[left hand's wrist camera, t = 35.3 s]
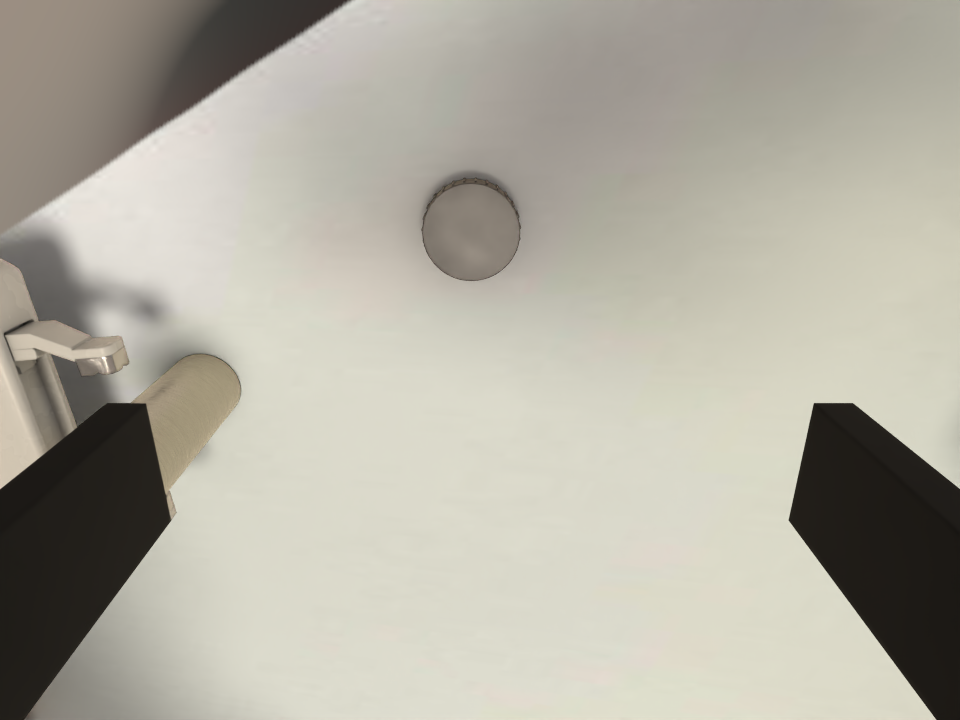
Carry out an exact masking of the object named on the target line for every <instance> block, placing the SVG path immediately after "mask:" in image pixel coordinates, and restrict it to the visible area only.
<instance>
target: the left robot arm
mask: <svg viewBox="0 0 960 720" xmlns="http://www.w3.org/2000/svg"><path fill="white" fill-rule="evenodd" d="M170 521H171V517H170V512H169V507H168V503H167V498H166V494H165V489H164V484H163V480H162V475H161V470H160V466H159V461H158V456H157V452H156V447H155V442H154V438H153V433H152V429H151V424H150V419H149V415H148V410H147V405H146V403H107V404H106V405H104V406H103V407H102V408H101V409H99V410H98V411H97V412H96V413H94V414H93V415H92V416H91V417H89V418H88V419H87V420H86V421H84V422H83V423H82V424H81V425H79V426H78V427H77V428H76V429H74V430H73V431H72V432H71V433H69V434H68V435H67V436H66V437H64V438H63V439H62V440H61V441H59V442H58V443H57V444H56V445H54V446H53V447H52V448H51V449H50V450H48V451H47V452H46V453H45V454H43V455H42V456H41V457H40V458H38V459H37V460H36V461H35V462H33V463H32V464H31V465H30V466H28V467H27V468H26V469H25V470H23V471H22V472H21V473H20V474H18V475H17V476H16V477H15V478H13V479H12V480H11V481H10V482H8V483H7V484H6V485H5V486H3V487H2V488H1V489H0V720H24V718H25V717H26V716H27V714H28V713H29V712H30V710H31V709H32V708H33V706H34V705H35V704H36V702H37V701H38V700H39V698H40V697H41V696H42V694H43V693H44V691H45V690H46V689H47V687H48V686H49V685H50V683H51V682H52V681H53V679H54V678H55V677H56V675H57V674H58V673H59V671H60V670H61V669H62V667H63V666H64V664H65V663H66V662H67V660H68V659H69V658H70V656H71V655H72V654H73V652H74V651H75V650H76V648H77V647H78V646H79V644H80V643H81V642H82V640H83V639H84V637H85V636H86V635H87V633H88V632H89V631H90V629H91V628H92V627H93V625H94V624H95V623H96V621H97V620H98V619H99V617H100V616H101V615H102V613H103V612H104V610H105V609H106V608H107V606H108V605H109V604H110V602H111V601H112V600H113V598H114V597H115V596H116V594H117V593H118V592H119V590H120V589H121V588H122V586H123V585H124V583H125V582H126V581H127V579H128V578H129V577H130V575H131V574H132V573H133V571H134V570H135V569H136V567H137V566H138V565H139V563H140V562H141V561H142V559H143V558H144V557H145V555H146V554H147V552H148V551H149V550H150V548H151V547H152V546H153V544H154V543H155V542H156V540H157V539H158V538H159V536H160V535H161V534H162V532H163V531H164V530H165V528H166V527H167V525H168V524H169V523H170ZM789 521H790V523H791V524H792V525H793V527H794V528H795V530H796V531H797V532H798V534H799V535H800V536H801V538H802V539H803V540H804V542H805V543H806V544H807V546H808V547H809V548H810V550H811V551H812V552H813V554H814V555H815V557H816V558H817V559H818V561H819V562H820V563H821V565H822V566H823V567H824V569H825V570H826V571H827V573H828V574H829V575H830V577H831V578H832V579H833V581H834V582H835V583H836V585H837V586H838V588H839V589H840V590H841V592H842V593H843V594H844V596H845V597H846V598H847V600H848V601H849V602H850V604H851V605H852V606H853V608H854V609H855V610H856V612H857V613H858V615H859V616H860V617H861V619H862V620H863V621H864V623H865V624H866V625H867V627H868V628H869V629H870V631H871V632H872V633H873V635H874V636H875V637H876V639H877V640H878V642H879V643H880V644H881V646H882V647H883V648H884V650H885V651H886V652H887V654H888V655H889V656H890V658H891V659H892V660H893V662H894V663H895V664H896V666H897V667H898V669H899V670H900V671H901V673H902V674H903V675H904V677H905V678H906V679H907V681H908V682H909V683H910V685H911V686H912V687H913V689H914V690H915V691H916V693H917V694H918V696H919V697H920V698H921V700H922V701H923V702H924V704H925V705H926V706H927V708H928V709H929V710H930V712H931V713H932V714H933V716H934V717H935V718H936V720H960V489H959V488H958V487H957V486H955V485H954V484H953V483H952V482H950V481H949V480H948V479H947V478H945V477H944V476H943V475H942V474H940V473H939V472H938V471H937V470H935V469H934V468H933V467H932V466H930V465H929V464H928V463H927V462H925V461H924V460H923V459H922V458H920V457H919V456H918V455H917V454H915V453H914V452H913V451H912V450H910V449H909V448H908V447H907V446H906V445H904V444H903V443H902V442H901V441H899V440H898V439H897V438H896V437H894V436H893V435H892V434H891V433H889V432H888V431H887V430H886V429H884V428H883V427H882V426H881V425H879V424H878V423H877V422H876V421H874V420H873V419H872V418H871V417H869V416H868V415H867V414H866V413H864V412H863V411H862V410H861V409H859V408H858V407H857V406H856V405H854V404H853V403H814V405H813V410H812V415H811V419H810V424H809V429H808V433H807V438H806V442H805V447H804V452H803V456H802V461H801V466H800V470H799V475H798V480H797V484H796V489H795V494H794V498H793V503H792V507H791V512H790V517H789Z"/></svg>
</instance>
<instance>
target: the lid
mask: <svg viewBox="0 0 960 720" xmlns="http://www.w3.org/2000/svg"><path fill="white" fill-rule="evenodd" d="M427 209H428V210H427V212H426V213H425V215H424V217H423V220H424V222H423V227H422V234H423V242H424V246H425V249H426V252H427V253H428V255H429V257H430V259H431V260H432V261H433V263H434V264H435V265H436V266H437V267H438V268H439V269H440V270H441V271H443V272H444V273H446V274H447V275H449V276H451V277H454V278H457V279H460V280H466V281H478V280H483V279H486V278H489V277H491V276H494V275H495V274H497V273H499V272H500V271H501V270H503V269H504V268H505V267H506V266H507V265H508V264H509V263H510V261H511V260H512V258H513V257H514V255H515V253H516V251H517V248H518V244H519V240H520V229H521V226H520V223H519V220H518V217H519V215H518V212H517V211H515V208H514V203H513V201H511V200H510V199H509V197H508V196H507V193H506V192H505V193H504V192H503V191H502V190H501V189H500V188H498V185H496V186H495V185H494V184H492V183H490V182H488V180H486V181H484V180H479V179H477V178H475V179H466V178H463V180H459V181H456V182H455V181H453V182H452V183H451V184H449V185H447V186H446V187H445V186H443V188H442V190H441V191H440V192H439V193H438V194H435V195H434V197H433V200H432V202H431V203H429V204H428V206H427Z"/></svg>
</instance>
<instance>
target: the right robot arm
mask: <svg viewBox="0 0 960 720" xmlns="http://www.w3.org/2000/svg"><path fill="white" fill-rule="evenodd" d="M51 354H53V355H56V356H59V357H62V358H65V359H68V360H70V361H73V362H76V363H77V366H78V369H79V371H80V374H81V376H94V375H96V374H97V373H100V374H102V375H107V374H113V373H115V372H118V371H120V370H121V369H122V368H123V366H126V365H128V364H129V359H128V356H127V352H126V349H125V346H124V343H123V339H122V337H121V336H111V337H98V338H91V336H90V335H88V334H86V333H83V332H81V331H79V330H76V329H74V328H72V327H70V326H67V325H65V324H63V323H61V322H58V321H56V320H48V321H39V320H38V317H37V314H36V312H35V309H34V306H33V303H32V301H31V298H30V295H29V292H28V290H27V287H26V284H25V281H24V278H23V275H22V273H21V271H20V270H19V269H18V268H17V267H16V266H14V265H12V264H10V263H9V262H7V261H5V260H3V259H1V258H0V489H1V488H2V487H3V486H5V485H6V484H7V483H8V482H10V481H11V480H12V479H13V478H15V477H16V476H17V475H18V474H20V473H21V472H22V471H23V470H25V469H26V468H27V467H28V466H30V465H31V464H32V463H33V462H35V461H36V460H37V459H38V458H40V457H41V456H42V455H43V454H45V453H46V452H47V451H48V450H50V449H51V448H52V447H53V446H54V445H56V444H57V443H58V442H59V441H61V440H62V439H63V438H64V437H66V436H67V435H68V434H69V433H71V432H72V431H73V430H74V429H76V428H77V425H76V422H75V420H74V417H73V414H72V411H71V409H70V406H69V403H68V400H67V397H66V395H65V392H64V389H63V386H62V384H61V381H60V378H59V375H58V373H57V370H56V367H55V364H54V362H53V359H52V356H51ZM166 498H167V503H168V507H169V512H170V517H171V520H172V518H173V517H174V516H175V514H176V509H175V506H174V503H173V500H172V497H171V493H170V491H168V492H167V493H166Z"/></svg>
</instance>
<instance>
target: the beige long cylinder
mask: <svg viewBox="0 0 960 720" xmlns="http://www.w3.org/2000/svg"><path fill="white" fill-rule="evenodd" d="M240 392H241V389H240V383H239V380H238V378H237V376H236V374H235V372H234V371H233V370H232V369H231V367H230V366H229V365H227V364H226V363H225V362H223V361H222V360H220V359H218V358H216V357H213V356H210V355H205V354H195V355H190V356H187V357H185V358H183V359H181V360H180V361H178V362H177V363H176V364H175V365H174V366H173V367H172V368H170V369H169V370H168V371H167V372H166V373H165V374H163V375H162V376H161V377H160V378H159V379H158V380H156V381H155V382H154V383H153V384H152V385H151V386H150V387H148V388H147V389H146V390H145V391H144V392H143V393H141V394H140V395H139V396H138V397H137V398H136V399H135V400H133V401H132V402H131V403H146V405H147V410H148V415H149V419H150V424H151V429H152V433H153V438H154V442H155V447H156V452H157V456H158V461H159V466H160V470H161V475H162V480H163V484H164V489H165V494H166V493H167V492H168V491H169V489H170V488H171V487H172V486H173V484H174V483H175V482H176V481H177V479H178V478H179V477H180V476H181V474H182V473H183V472H184V471H185V469H186V468H187V467H188V466H189V464H190V463H191V462H192V461H193V459H194V458H195V457H196V456H197V454H198V453H199V452H200V451H201V449H202V448H203V447H204V446H205V444H206V443H207V442H208V440H209V439H210V438H211V437H212V435H213V434H214V433H215V432H216V430H217V429H218V428H219V427H220V425H221V424H222V423H223V422H224V420H225V419H226V418H227V417H228V415H229V414H230V413H231V412H232V410H233V409H234V408H235V406H236V405H237V403H238V401H239V399H240Z"/></svg>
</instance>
